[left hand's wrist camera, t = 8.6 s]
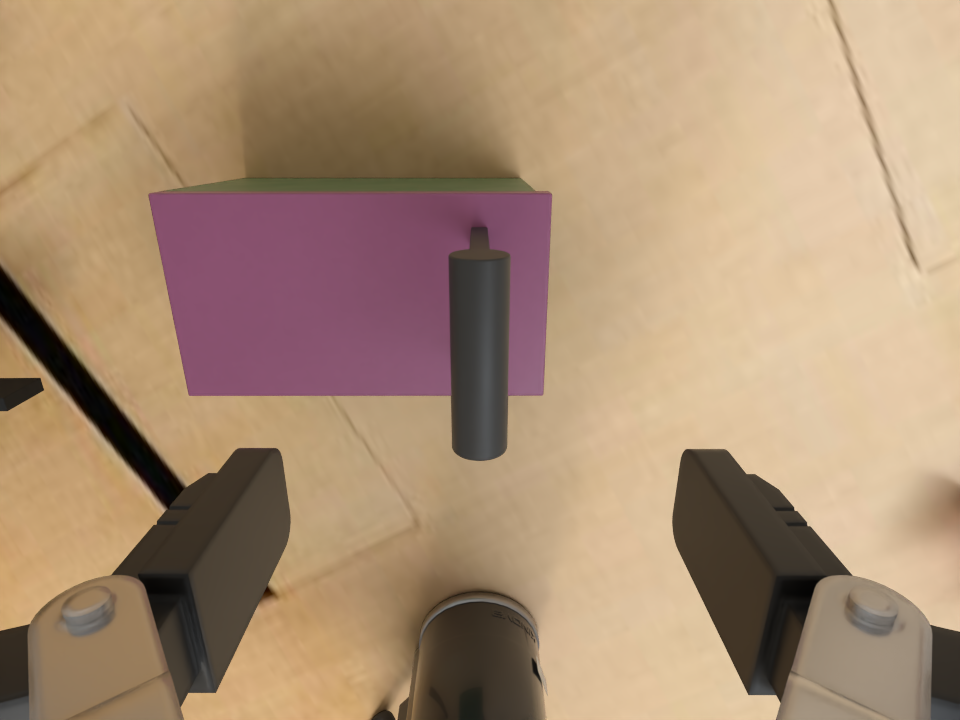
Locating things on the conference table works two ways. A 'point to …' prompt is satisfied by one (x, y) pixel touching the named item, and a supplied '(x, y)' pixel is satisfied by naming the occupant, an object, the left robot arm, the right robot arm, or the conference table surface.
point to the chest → (365, 184)
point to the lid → (362, 296)
